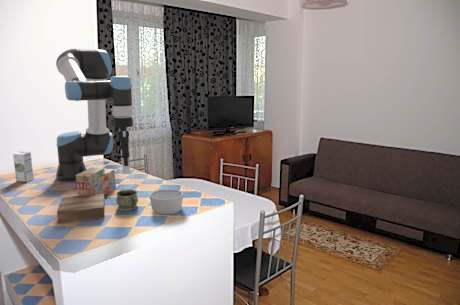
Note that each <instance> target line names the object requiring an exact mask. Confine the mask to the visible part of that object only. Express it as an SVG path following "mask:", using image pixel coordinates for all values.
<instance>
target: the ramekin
mask: <svg viewBox="0 0 460 305" xmlns="http://www.w3.org/2000/svg"><path fill="white" fill-rule="evenodd" d="M183 198H184V192H183V191H181V190H178V189H176V188H175V189H174V188H163V189H158V190H154V191H152V192H150V194H149V200H150V205H151V206H150V207H151V210H152V212H154V213H155V214H157V215H161V216H169V215H174V214H177V213H179V212H180V211H181V209H182V207H183Z"/></svg>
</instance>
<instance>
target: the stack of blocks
mask: <svg viewBox="0 0 460 305" xmlns="http://www.w3.org/2000/svg"><path fill="white" fill-rule="evenodd" d="M86 169H87V170H85V171H83V172H81V173H79V174H77V175H76V181H75V185H76V186H75V187H76V193H77V194H76V196H83V195H94V194H104V196H105V195H106V194H108V193H109V192H111V191H113V190H115V189H117V185H116V175H115V174H116V172H115V169H114V168H104V167H90V168H86Z"/></svg>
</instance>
